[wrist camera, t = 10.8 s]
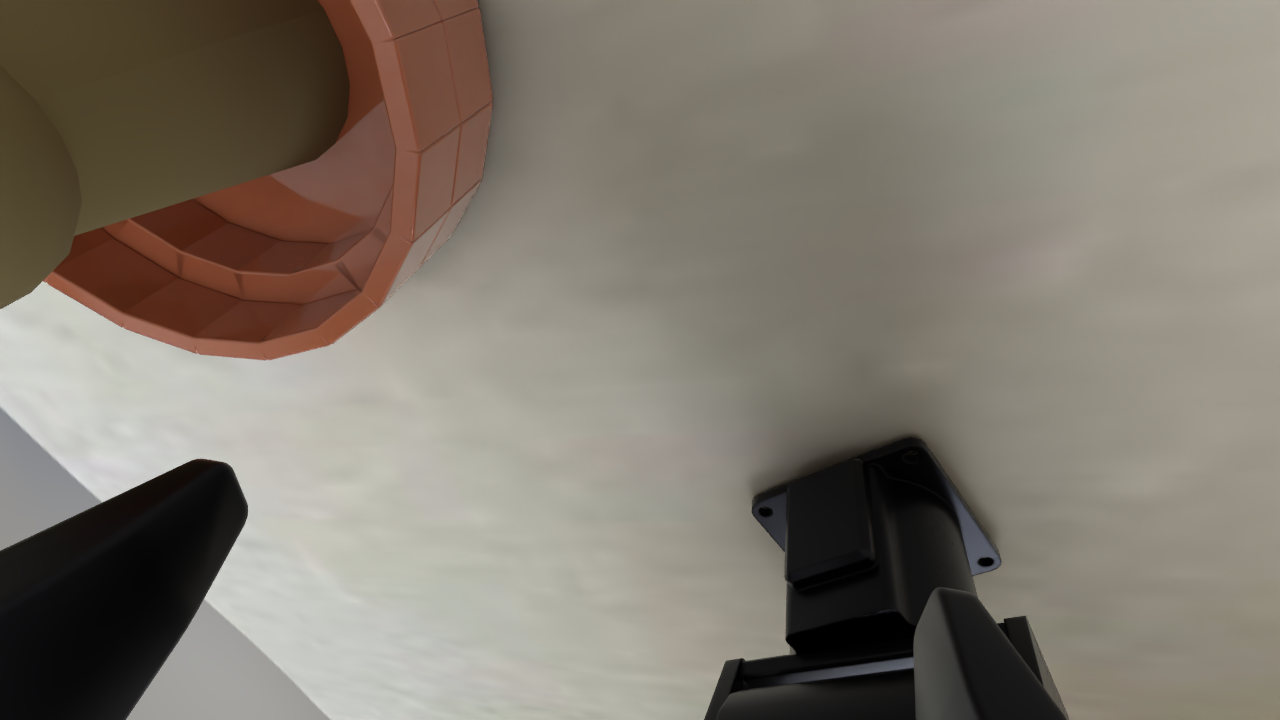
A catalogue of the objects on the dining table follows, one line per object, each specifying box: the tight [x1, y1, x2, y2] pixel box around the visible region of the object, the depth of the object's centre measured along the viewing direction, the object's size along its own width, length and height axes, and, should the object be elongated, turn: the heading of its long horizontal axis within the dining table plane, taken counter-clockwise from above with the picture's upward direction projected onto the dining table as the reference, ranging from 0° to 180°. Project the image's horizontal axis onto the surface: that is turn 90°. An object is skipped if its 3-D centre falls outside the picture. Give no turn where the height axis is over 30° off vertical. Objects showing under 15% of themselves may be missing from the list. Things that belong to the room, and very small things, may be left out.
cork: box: [0, 0, 350, 309], centre depth 15 cm, size 6×6×11 cm
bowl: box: [43, 0, 493, 360], centre depth 17 cm, size 14×14×5 cm
